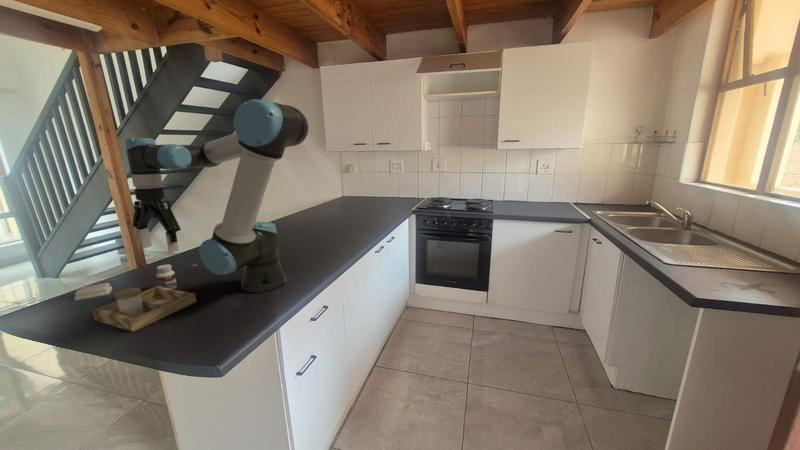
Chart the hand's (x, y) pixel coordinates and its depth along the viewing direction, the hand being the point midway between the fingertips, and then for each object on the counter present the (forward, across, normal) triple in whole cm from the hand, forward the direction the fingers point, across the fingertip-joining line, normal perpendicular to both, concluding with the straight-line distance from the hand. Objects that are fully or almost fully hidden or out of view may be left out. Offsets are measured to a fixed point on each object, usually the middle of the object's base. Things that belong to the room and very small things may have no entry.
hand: (160, 249), depth 107 cm
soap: (+16, +21, +11) cm, 28 cm away
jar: (+14, -11, +17) cm, 25 cm away
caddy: (+15, -11, +13) cm, 23 cm away
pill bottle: (+15, 0, 0) cm, 15 cm away
